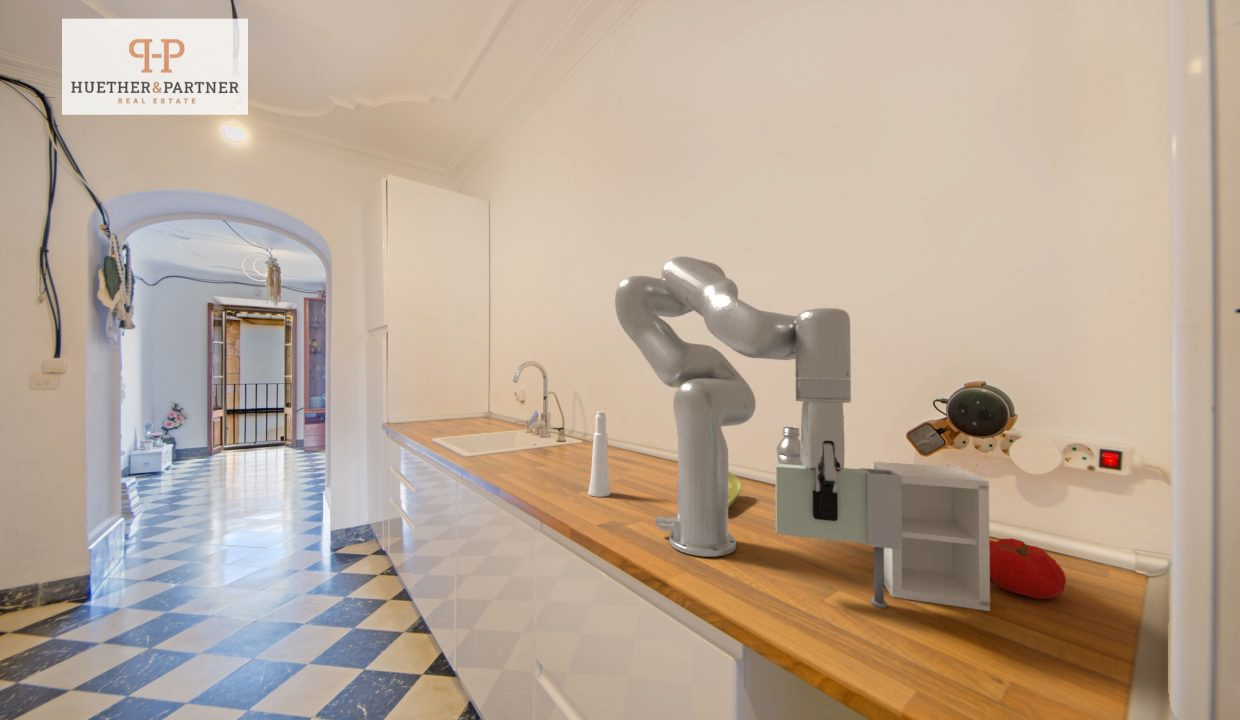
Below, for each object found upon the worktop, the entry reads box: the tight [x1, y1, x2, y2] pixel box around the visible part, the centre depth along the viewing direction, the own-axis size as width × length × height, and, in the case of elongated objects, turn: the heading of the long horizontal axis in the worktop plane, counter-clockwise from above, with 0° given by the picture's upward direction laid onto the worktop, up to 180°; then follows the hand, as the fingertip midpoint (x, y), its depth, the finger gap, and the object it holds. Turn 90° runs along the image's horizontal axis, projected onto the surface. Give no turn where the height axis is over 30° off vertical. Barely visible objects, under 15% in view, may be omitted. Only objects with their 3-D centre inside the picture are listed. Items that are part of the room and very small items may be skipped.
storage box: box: [775, 463, 902, 550], centre depth 64 cm, size 16×4×10 cm, turn 73°
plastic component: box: [676, 471, 744, 509], centre depth 110 cm, size 20×7×10 cm
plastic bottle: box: [776, 426, 803, 465], centre depth 104 cm, size 6×7×20 cm
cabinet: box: [870, 461, 991, 612], centre depth 66 cm, size 16×14×18 cm
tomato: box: [989, 538, 1067, 600], centre depth 68 cm, size 10×11×6 cm
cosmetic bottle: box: [587, 410, 612, 498], centre depth 117 cm, size 6×6×22 cm
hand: (823, 515), depth 65 cm, fingers closed on storage box, 2 cm apart
